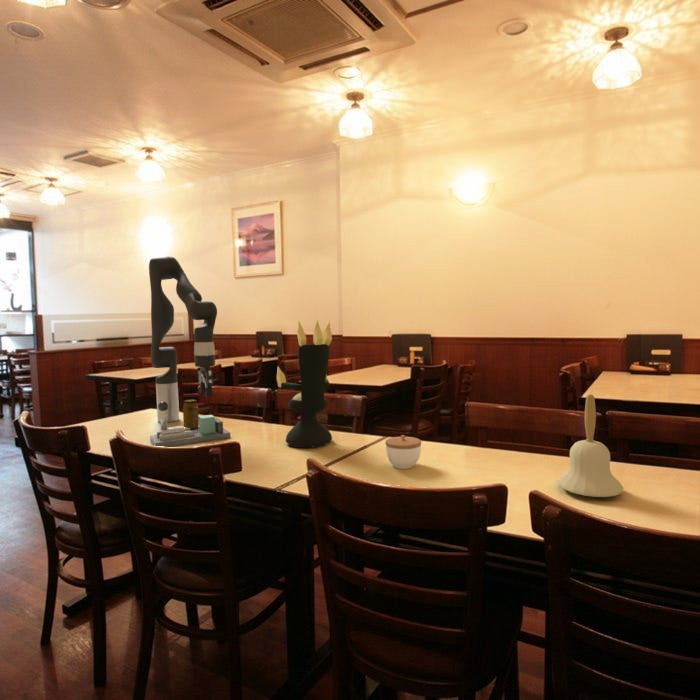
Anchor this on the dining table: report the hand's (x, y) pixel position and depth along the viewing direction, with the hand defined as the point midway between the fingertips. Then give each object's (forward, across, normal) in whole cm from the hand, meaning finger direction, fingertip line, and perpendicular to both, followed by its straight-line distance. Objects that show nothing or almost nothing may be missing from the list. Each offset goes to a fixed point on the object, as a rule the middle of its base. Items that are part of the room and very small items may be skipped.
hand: (206, 395), depth 194 cm
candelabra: (+16, +33, +29) cm, 47 cm away
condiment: (+17, -18, -2) cm, 24 cm away
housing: (+14, 0, 0) cm, 14 cm away
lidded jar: (+16, +72, +40) cm, 84 cm away
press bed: (+16, 0, -7) cm, 18 cm away
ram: (+14, 0, -13) cm, 19 cm away
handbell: (+15, +117, +66) cm, 135 cm away
